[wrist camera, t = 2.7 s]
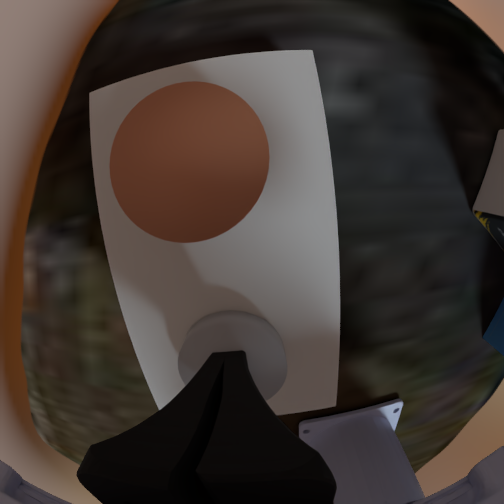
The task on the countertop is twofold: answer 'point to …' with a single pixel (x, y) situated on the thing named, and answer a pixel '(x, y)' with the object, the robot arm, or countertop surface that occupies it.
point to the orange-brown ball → (189, 162)
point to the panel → (236, 233)
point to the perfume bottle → (496, 330)
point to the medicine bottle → (493, 194)
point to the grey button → (236, 347)
